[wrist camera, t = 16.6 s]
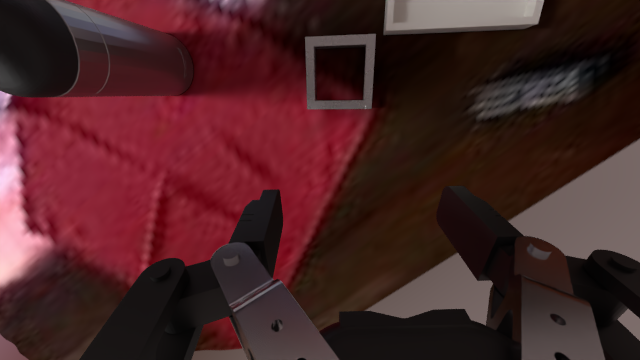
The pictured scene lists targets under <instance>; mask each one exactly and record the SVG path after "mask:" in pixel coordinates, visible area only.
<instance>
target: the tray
mask: <svg viewBox="0 0 640 360" xmlns="http://www.w3.org/2000/svg"><path fill="white" fill-rule="evenodd" d="M543 3H544V0H386V4H385V18H384V33H383V35H399V34H422V33H445V32H468V31H491V30H514V29H525V28H528V27H531V26H533V25H536V24H538V22H539V18H540V14H541V10H542V6H543Z"/></svg>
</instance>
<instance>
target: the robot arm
mask: <svg viewBox="0 0 640 360" xmlns="http://www.w3.org/2000/svg"><path fill="white" fill-rule="evenodd" d="M192 79H193V64H192V60H191V57H190V55H189V52H188V51H187V49H186V48H185V46H184V45H183V44H182V43H181V42H180V41H179V40H178V39H176V38H175V37H174V36H171V35H169V34H167V33H164V32H161V31H157V30H154V29H151V28H149V27H146V26H143V25H139V24H136V23H133V22H130V21H127V20H124V19H121V18H118V17H115V16H112V15H109V14H105V13H102V12H99V11H96V10H93V9H90V8H87V7H84V6H81V5H78V4H75V3H72V2H68V1H65V0H0V91H2V92H5V93H8V94H11V95H16V96H21V97H101V96H176V95H180V94H182V93H183V92H185V91H186V90H187V89H188V88H189V86H190V84H191V82H192ZM437 222H438V224H439V226H440V227H441V229H442V230H443V232H444V233H445V235H446V236H447V237H448V239H449V240H450V242H451V243H452V245H453V246H454V248H455V249H456V250H457V252H458V253H459V255H460V256H461V258H462V259H463V260H464V262H465V263H466V265H467V266H468V268H469V269H470V270H471V272H472V273H473V275H474V276H475V278H476V279H477V280H478V281H482V280H483V281H484V280H491V281H492V282H493V285H492V287H491V290H490V297H489V305H488V314H487V321H486V326H485V325H483V324H481V323H478V322H475V321H471V320H470V318H469V316H468V314H467V313H466V311H465V309H444V310H431V311H428V312H425V313H422V314H419V315H415V316H412V317H409V318H398V317H394V316H389V315H385V314H381V313H376V312H372V311H350V312H339V322H337V323H334V324H332V325H330V326H328V327H326V328H324V329H323V330H321V331H318V330H317V329H316V327H315V326H314V325H313V323H312V322H311V321H310V319H309V318H308V317H307V315H306V314H305V313H304V311H303V310H302V309H301V307H300V306H299V304H298V303H297V302H296V300H295V299H294V298H293V296H292V295H291V294H290V292H289V291H288V290H287V288H286V287H285V286H284V284H283V283H282V282H281V281H280V280H279V279H276V280H275V281H274V280H273V274H274V268H275V263H276V258H277V253H278V248H279V243H280V238H281V233H282V227H283V213H282V205H281V196H280V191H279V190H263V192H262V195H261V197H260V200H252V201H251V202H250V203H249V204H248V205H247V206H246V207H245V209H244V211H243V213H242V215H241V217H240V219H239V222H238V224H237V226H236V228H235V230H234V232H233V235H232V237H231V239H230V241H229V243H228V244H227V245H224V246H222V247H221V248H219V249H218V250H217V251H216V252H215V253H214V254H213V256H212V258H211V259H210V260H208V261H205V262H201V263H198V264H194V265H190V266H185V264H184V262H183V261H182V260H180V259H178V258H168V259H164V260H161V261H158V262H156V263H154V264H152V265H151V266H149V267H148V268H147V269H145V270H144V271H143V272H142V273H141V275H140V276H139V277H138V279H137V280H136V281H135V283H134V284H133V285H132V287H131V288H130V290H129V291H128V292H127V294H126V295H125V297H124V298H123V299H122V301H121V302H120V304H119V305H118V306H117V308H116V309H115V311H114V312H113V313H112V315H111V316H110V318H109V319H108V320H107V322H106V323H105V325H104V326H103V327H102V329H101V330H100V332H99V333H98V334H97V336H96V337H95V338H94V340H93V341H92V343H91V344H90V345H89V347H88V348H87V350H86V351H85V352H84V354H83V355H82V357H81V358H80V359H79V360H191V359H192V356H193V353H194V351H195V348H196V345H197V342H198V339H199V336H200V334H201V331H202V328H203V325H204V324H207V323H210V322H213V321H216V320H219V319H222V318H225V317H228V316H229V318H230V320H231V323H232V325H233V327H234V329H235V332H236V334H237V336H238V338H239V341H240V343H241V345H242V347H243V350H244V352H245V354H246V357H247V359H248V360H640V341H639V340H638V339H637V338H636V337H635V336H634V335H633V334H632V333H631V332H629V330H628V329H627V328H625V327H624V326H623V325H622V324H621V323H620V322H619V321H618V320H617V319H618V318H619V317H620V316H621V315H622V314H623V313H624V312H625V311H626V310H627V309H630V310H631V311H632V312H633V313H634V314H635V315H637V316H638V317H639V318H640V263H639V262H637V261H635V260H633V259H631V258H629V257H627V256H625V255H622V254H619V253H616V252H613V251H608V250H595V251H593V252H592V253H591V255H590V256H589V257H588V259H587V260H585V259H580V258H575V257H570V256H565V255H564V254H563V253H562V252H561V250H559V249H558V248H557V247H555V246H554V245H552V244H550V243H548V242H546V241H544V240H542V239H539V238H535V237H530V236H523V235H522V234H521V233H520V232H519V231H518V230H517V229H516V228H514V227H513V226H512V225H511V224H510V223H509V222H508V221H507V220H506V219H505V218H503V217H501V215H500V214H499V213H498V212H497V211H494V209H493V208H492V207H491V206H490V205H489V204H488V203H487V202H485V201H483V200H482V199H480V198H478V197H476V196H474V195H473V194H472V193H471V192H470V191H468V190H467V189H466V188H465V187H464V186H446V187H445V188H444V189H443V192H442V195H441V199H440V202H439V206H438V210H437Z"/></svg>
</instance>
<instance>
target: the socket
mask: <svg viewBox="0 0 640 360" xmlns="http://www.w3.org/2000/svg"><path fill="white" fill-rule="evenodd" d="M375 41H376V34H360V35H337V36H315V37H305V49H306V82H307V109H371V108H372V92H373V75H374V58H375ZM355 47H365V68H364V89H363V100H317V84H316V49H328V48H355Z"/></svg>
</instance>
